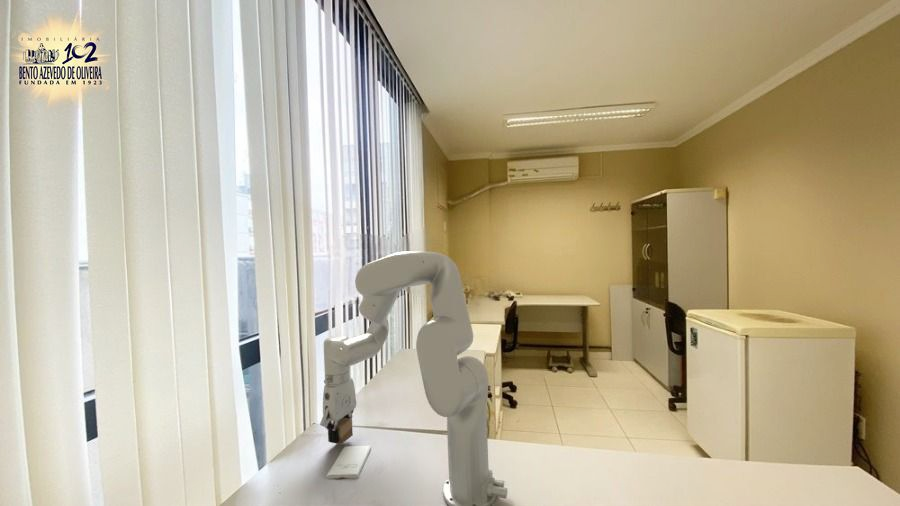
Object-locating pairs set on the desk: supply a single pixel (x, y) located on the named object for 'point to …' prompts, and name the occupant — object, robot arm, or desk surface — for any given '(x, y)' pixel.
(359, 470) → the external hard drive
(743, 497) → the desk surface
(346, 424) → the walnut block
